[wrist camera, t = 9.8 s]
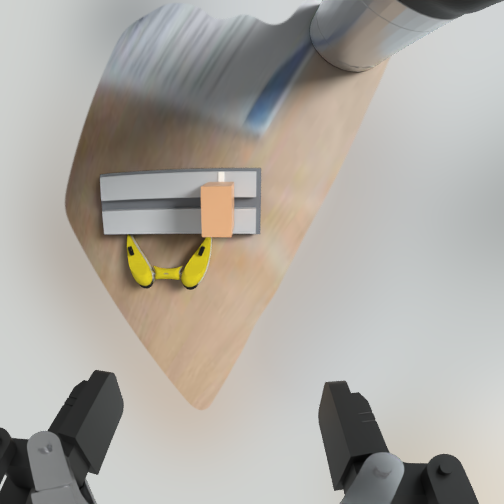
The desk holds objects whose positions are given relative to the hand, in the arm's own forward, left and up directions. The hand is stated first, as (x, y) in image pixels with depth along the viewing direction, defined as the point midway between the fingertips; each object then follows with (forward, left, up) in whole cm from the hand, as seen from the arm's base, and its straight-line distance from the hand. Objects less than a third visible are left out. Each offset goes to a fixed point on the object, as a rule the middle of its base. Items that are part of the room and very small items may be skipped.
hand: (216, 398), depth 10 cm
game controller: (+3, -8, -26) cm, 27 cm away
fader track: (-4, -7, -25) cm, 26 cm away
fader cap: (-4, -2, -24) cm, 24 cm away
